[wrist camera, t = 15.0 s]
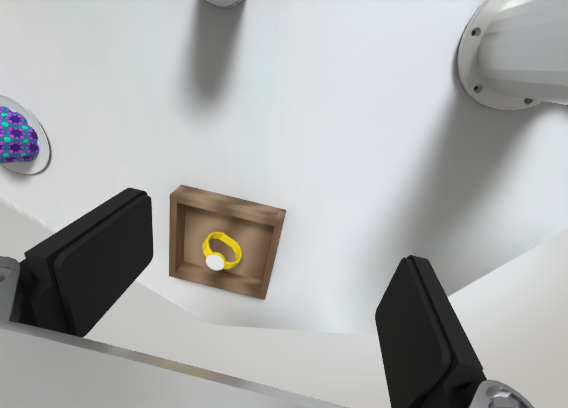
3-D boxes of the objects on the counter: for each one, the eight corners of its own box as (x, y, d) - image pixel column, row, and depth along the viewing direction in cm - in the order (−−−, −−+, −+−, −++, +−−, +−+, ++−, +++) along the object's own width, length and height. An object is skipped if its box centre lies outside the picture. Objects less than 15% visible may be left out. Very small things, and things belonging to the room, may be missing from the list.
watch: (209, 234, 45) (191, 255, 39) (218, 223, 44) (201, 243, 38) (239, 256, 46) (225, 280, 40) (248, 246, 44) (236, 269, 39)
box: (286, 210, 41) (283, 221, 38) (268, 284, 48) (264, 299, 45) (181, 184, 42) (170, 194, 39) (179, 262, 49) (169, 275, 45)
